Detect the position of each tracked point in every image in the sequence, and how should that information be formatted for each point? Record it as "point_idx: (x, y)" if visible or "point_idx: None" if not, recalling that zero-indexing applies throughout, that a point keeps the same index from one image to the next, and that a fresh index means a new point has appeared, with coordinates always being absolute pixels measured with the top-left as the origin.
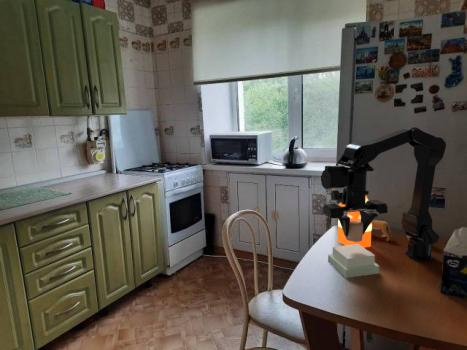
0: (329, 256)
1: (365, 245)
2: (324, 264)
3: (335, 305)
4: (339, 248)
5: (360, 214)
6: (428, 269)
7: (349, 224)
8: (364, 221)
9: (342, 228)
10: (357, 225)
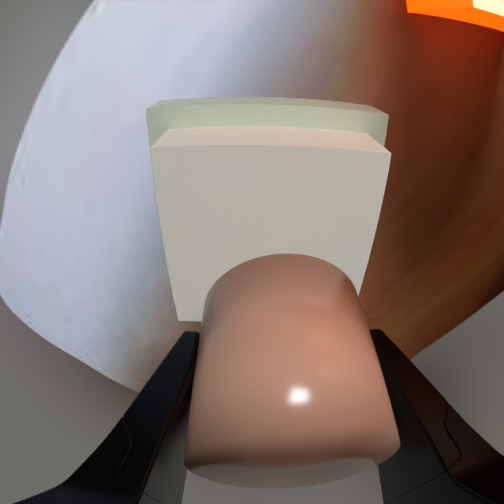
0: (149, 126)
1: (487, 25)
2: (127, 131)
3: (104, 361)
4: (191, 185)
5: (469, 496)
6: (496, 281)
7: (180, 501)
8: (398, 477)
9: (144, 393)
10: (277, 485)
